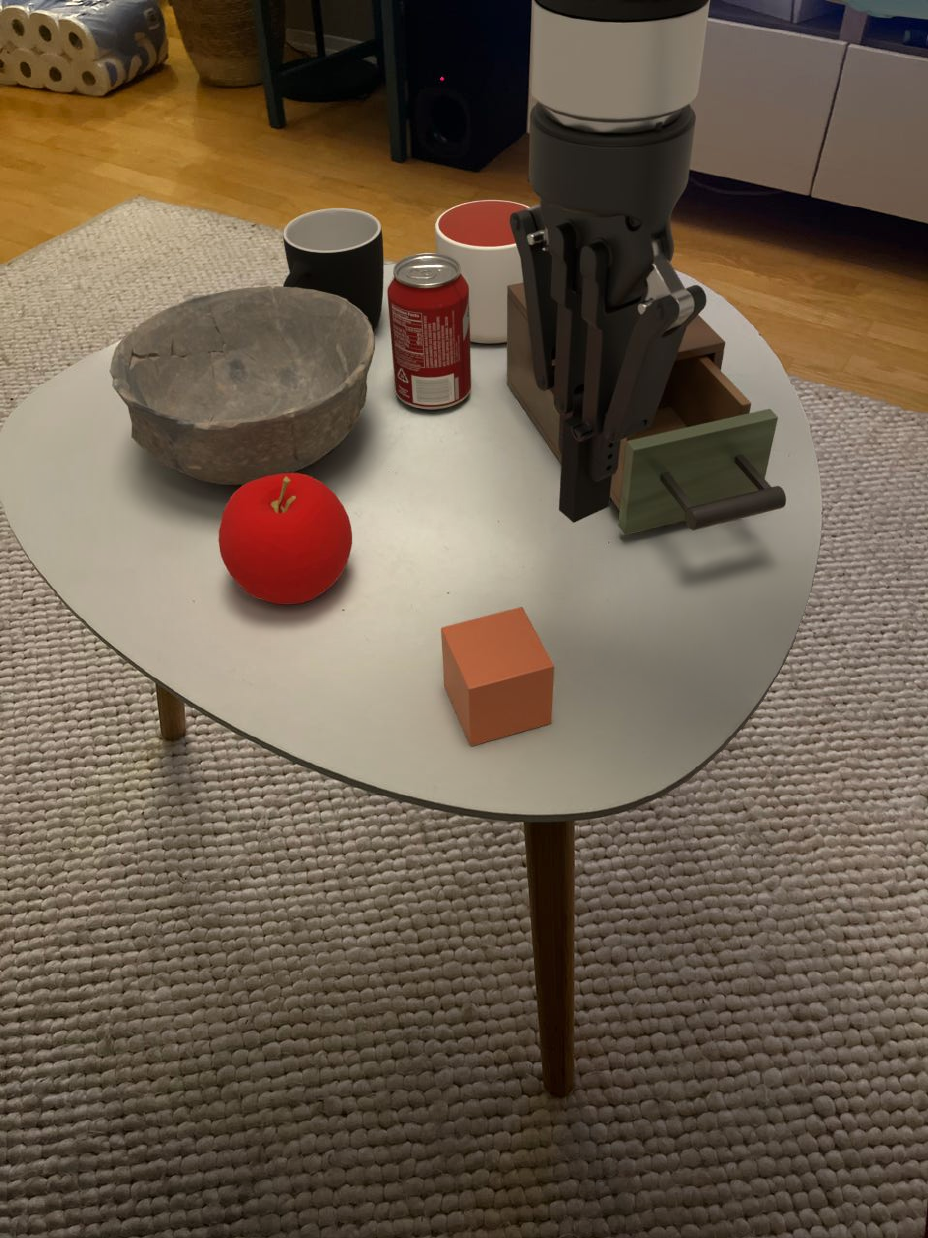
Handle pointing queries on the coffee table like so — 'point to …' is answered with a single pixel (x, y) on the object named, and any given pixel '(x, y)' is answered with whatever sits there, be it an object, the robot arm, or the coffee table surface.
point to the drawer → (697, 456)
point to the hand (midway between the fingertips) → (583, 507)
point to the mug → (338, 257)
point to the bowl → (245, 381)
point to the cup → (483, 261)
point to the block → (497, 675)
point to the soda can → (430, 331)
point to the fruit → (285, 538)
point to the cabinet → (521, 366)
